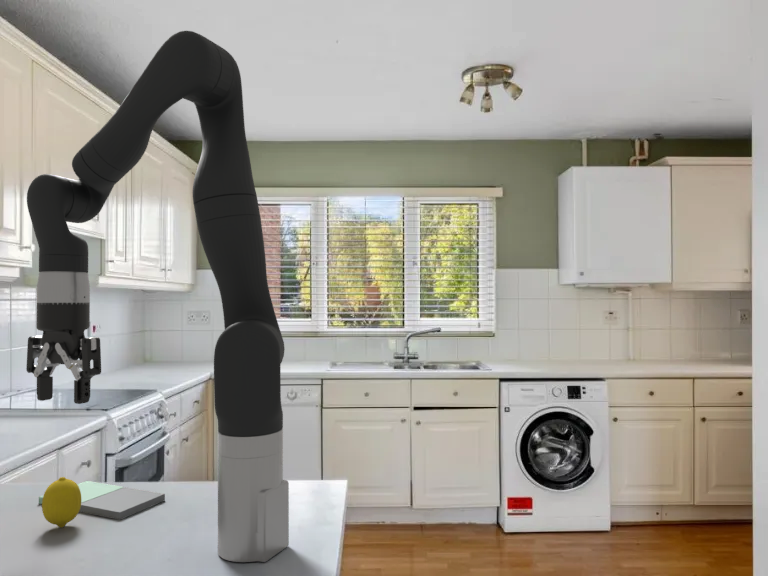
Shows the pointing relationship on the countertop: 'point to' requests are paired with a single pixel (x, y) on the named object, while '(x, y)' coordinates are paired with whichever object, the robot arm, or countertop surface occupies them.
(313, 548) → the countertop surface
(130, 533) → the countertop surface
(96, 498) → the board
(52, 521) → the lemon
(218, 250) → the robot arm
